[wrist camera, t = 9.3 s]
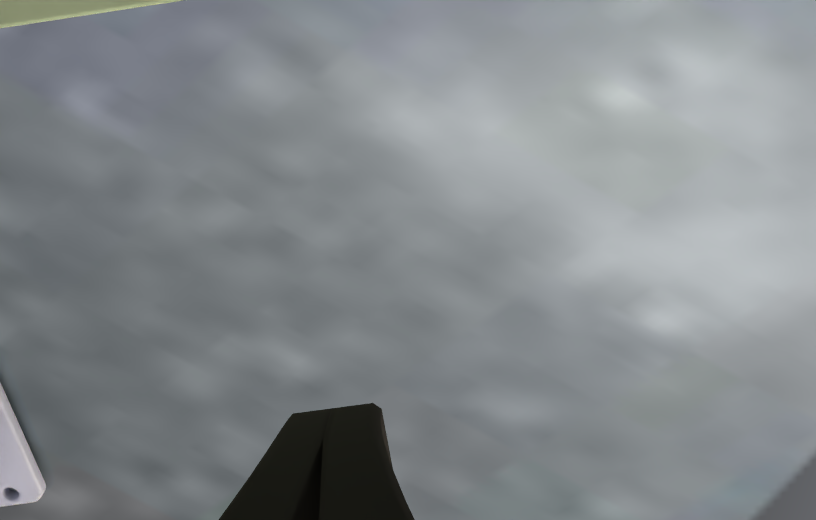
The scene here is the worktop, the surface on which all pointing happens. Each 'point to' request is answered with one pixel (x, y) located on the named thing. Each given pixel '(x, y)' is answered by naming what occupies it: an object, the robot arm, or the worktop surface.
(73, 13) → the cabinet
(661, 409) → the worktop surface
